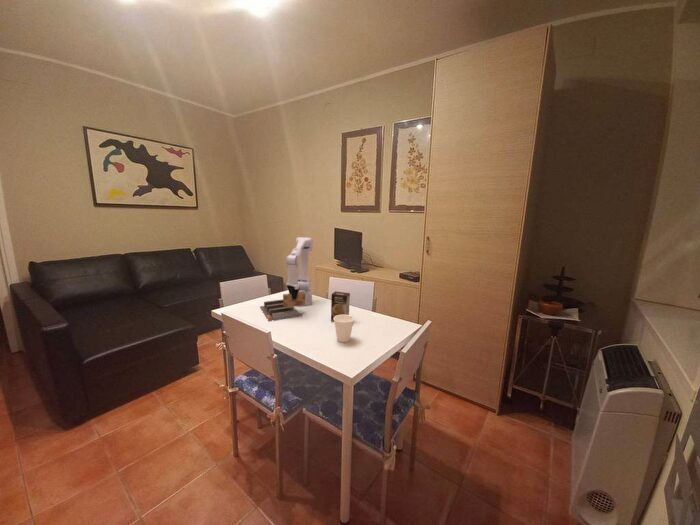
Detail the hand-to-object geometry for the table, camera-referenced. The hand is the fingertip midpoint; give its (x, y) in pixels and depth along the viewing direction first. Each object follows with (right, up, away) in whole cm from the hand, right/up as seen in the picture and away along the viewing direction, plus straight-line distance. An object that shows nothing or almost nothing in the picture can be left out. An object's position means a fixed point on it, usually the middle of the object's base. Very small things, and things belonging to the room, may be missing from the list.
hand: (293, 298), depth 163 cm
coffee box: (+28, -12, -6) cm, 31 cm away
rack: (-9, -9, +6) cm, 14 cm away
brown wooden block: (0, -4, +1) cm, 4 cm away
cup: (+30, -17, -29) cm, 45 cm away
